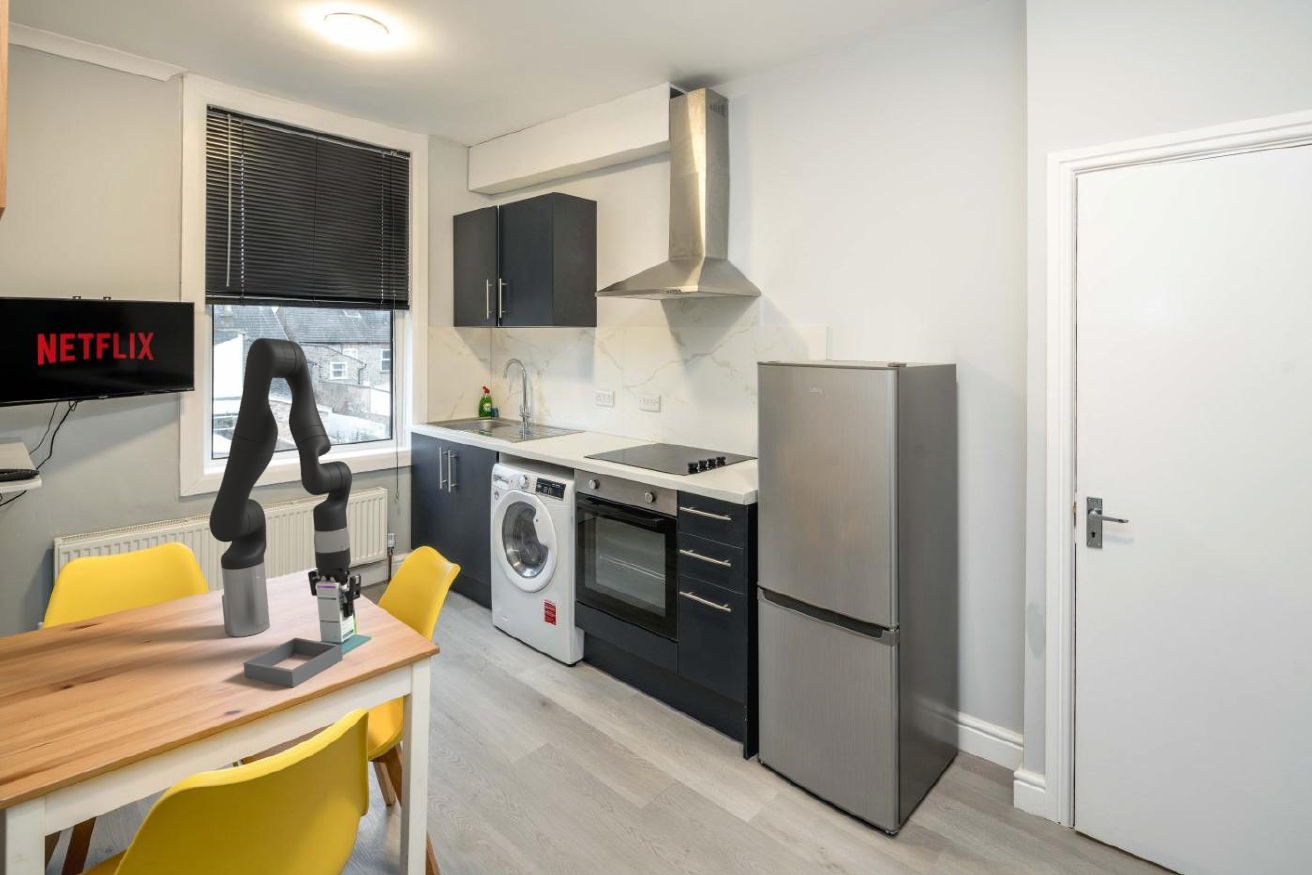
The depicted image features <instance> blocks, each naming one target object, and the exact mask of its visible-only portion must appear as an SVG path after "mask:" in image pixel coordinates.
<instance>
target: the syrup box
mask: <svg viewBox="0 0 1312 875" xmlns="http://www.w3.org/2000/svg"><path fill="white" fill-rule="evenodd" d="M340 586H341V588H342V589H346V588H347V586H348V585H347V584H346V585H344V586H342V585H341V584H340V582H337V583H334V582H331V580H327V581H321V582H318V583H316V590H317V596H316V598H317V608H318V620H319V630H320V631H319V632H320V641H328V642H341V643H342V642H343V641H344V640H346V639H347V638H349V637H350V636H352V635H354V634H357V632H358V631H357V630H358V629H357V621H356V620H357V619H356V610H355V609H356V607H355V600H354V601H353V609H354V612H353V615H352V616H350V617H348V618H345V617H344V615H343V603H344V602H343V600H342V597H341V594H340V593H339V587H340ZM345 594H346V596H347V597H348V595H347V592H345Z"/></svg>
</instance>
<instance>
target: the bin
mask: <svg viewBox="0 0 1312 875" xmlns="http://www.w3.org/2000/svg"><path fill="white" fill-rule="evenodd" d="M296 655H302V656H307V657H312V659H310V660H308V661H306V662H304V663H302V664H300V665H299V666H296V667H295V668H293V669H291V668H284V667H279V666H276V665H277V664H279V663H281V662H283V661H285V660H287V659H289V658H291V657H293V656H296ZM341 661H343V655H342V645H337V644H331V643H325V642H320V641H318V640H312V639H306V638H300V637H294V638H292V639H290V640H287V641H285V642H284V643H281V644H280V645H277V646H276V647H273V648H271V649H269V650H267V651H265V652H263V653H261V654H259V655H257V656H254V657H253V658H251V659H249V660H247V661H245V662H243V674H244V679H246V680H251V681H257V682H263V683H267V684H273V685H277V686H283V687H287V688H288V687H289V688H295V687H297V686H299V685H300V684H303V683H304V682H306V681H309V679H311V678H314V677H315V676H317V675H318V674H320V673H322V672H324V671H326V670H328V669H329V668H331V667H333V666H335V665H336V664H338V663H339V662H341Z"/></svg>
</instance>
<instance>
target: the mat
mask: <svg viewBox="0 0 1312 875" xmlns="http://www.w3.org/2000/svg"><path fill="white" fill-rule="evenodd" d="M371 640H372V636H368V635H363V634H362V635H361V634H357V633H355V634H354V635H352V636H350V637H349V638H347V639H346V640H344V641H343V642H342V643H341V642H328V641H322V640H320V641H319V642H325V643H331V644H337V645H342V656H344V655H346V654H347V653H350V652H351V651H353V650H354V649H356V648H358V647H360V646H362V645H363V644H366V643H367V642H369V641H371Z"/></svg>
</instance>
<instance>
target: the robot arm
mask: <svg viewBox="0 0 1312 875" xmlns="http://www.w3.org/2000/svg"><path fill="white" fill-rule="evenodd" d="M244 368H245V369H244V377H243V386H242V393H241V394H242V395H241V398H240V404H239V409H238V414H237V418H236V423H235V426H234V430H233V433H232V437H231V438H232V439H231V442H230V447H229V451H228V457H227V460H226V464H225V465H226V466H225V469H224V473H223V476H222V480H221V484H220V488H218V489H219V490H218V492H217V496H216V498H215V501H214V503H213V506H212V510H211V512H210V516H209V520H208V521H209V522H208V524H209V525H208V526H209V529H210V532H211V534H212V537H213V538H215V539H216V540H217V541H218V542H222V543H230V542H231V543H230V545H229V547H228V548H227V550H225V551H224V553H222V555H221V557H220V566H221V574H222V576H221V577H222V585H223V594H222V596H221V603H222V614H223V623H224V624H223V625H224V632H226V633H227V634H228V636H230V637H247V636H252V635H253V636H254V635H256V634H259V633H262V632H264V631H266V630H267V629H269V628H270V626H271V625H270V624H271V623H270V613H269V600H268V589H267V576H266V566H265V553H266V551H267V544H268V543H267V542H268V541H267V521H266V520H267V519H266V514H265V511H264V508H263V507H262V505H261V504H260V503H259V502H258V501H256V500H255V499H251V498H250V496H251V493H252V490H253V488H254V486H255V485H256V483H257V481H258V480H259V479H260V478H261V476H262V475H263V474H264V472H265V471H266V470H267V468H268V466H269V464H270V462H271V461H272V459H273V457H274V453H275V449H276V446H277V445H276V444H277V441H278V437H279V436H278V435H279V427H278V424H277V421H276V420H277V419H276V418H275V416H274V414H273V411H272V408H271V406H270V399H269V396H270V390H271V385H272V381H273V379H284V380H285V382H286V383H287V385H288V387H289V389H290V393H291V405H290V409H289V416H288V426H289V427H288V428H289V431H290V434H291V438H292V439H293V441H294V443H295V446H296V449H297V451H298V456H299V466H300V477H301V478H300V480H301V484H302V486H303V488H304V490H305V491H306V492H307V493H308V494H311V496H321V495H326V494H327V497H326V499H324V501H321V502H320V503H318V504H317V505H315V506H314V507H313V510H312V517H313V526H314V527H313V528H314V531H313V532H314V534H313V545H314V546H313V548H314V558H315V559H314V560H315V568H316V569H314V570H310V571H309V572H307V577H308V582H309V589H310V594H311V596H312V597H317V590H316V583H318V582H321V581H327V580H331V582H334V583H337V582H340V584H341V585H342V586H344V585H346V584H347V585H348V586H347V588H346V589H342V588H341V586H340V587H339V593H340V594H341V597H342V600H343V602H344V603H343V615H344V617H345V618H348V617H350V616H352V615H353V612H354V609H353V601H354V602H355V600H357V599H360V598H361V593H362V592H361V590H362V589H361V588H362V575H361V574H360V573H357V574H353V573H351V571H350V568H349V567H350V565H351V562H352V559H351V545H350V534H349V529H348V520H347V518H348V517H347V508H348V503H349V497H350V493H351V489H352V484H353V476H352V470H351V469H350V467H349V466H348V464H347V463H346V462H344V461H341V460H339V461H337V460H336V461H335V460H334V461H330V462H323V463H320V460H319V457H322V456H324V455H326V454H327V453H329V452H330V451H331V449H332V444H331V441H330V438H329V435H328V434H327V431H326V428H325V426H324V423H323V422H322V418H321V416H320V413H319V411H318V406H317V402H316V398H315V394H314V393H315V392H314V387H313V382H312V379H311V375H310V371H309V367H308V362H307V358H306V355H305V352H304V350H303V348H302V347H301V346H300V344H299V343H297V342H295V341H293V340H288V339H279V338H270V337H269V338H268V337H259V338H257V339H255V340H254V341H253V342H252V343H251V345H250V347H249V349H248V352H247V354H246V361H245V367H244ZM345 592H347V595H348V597H347V596H346V594H345Z"/></svg>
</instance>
